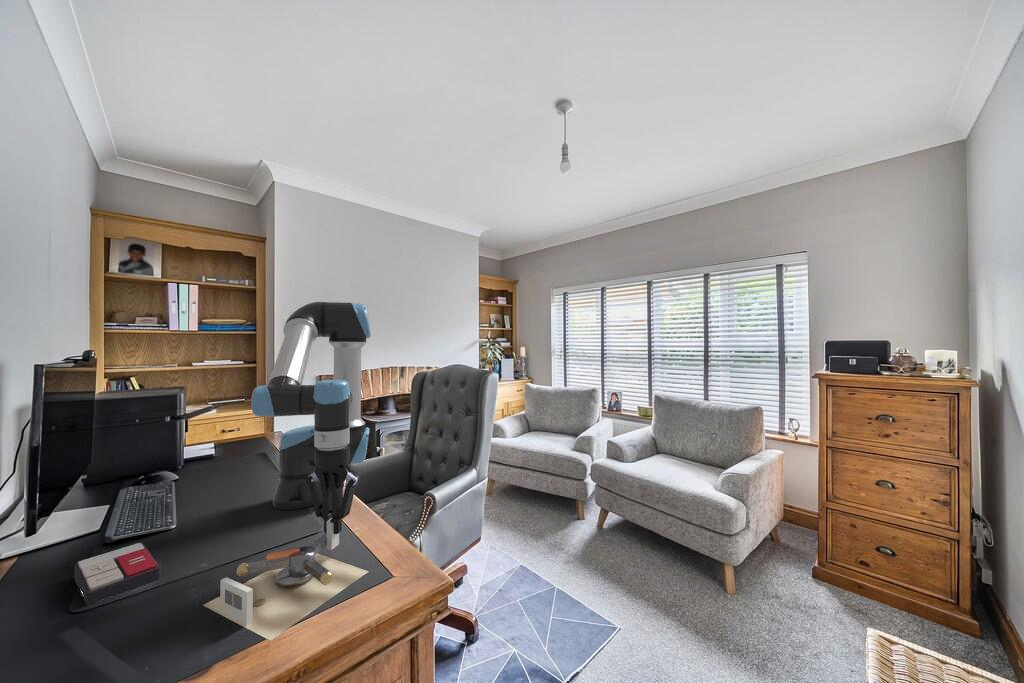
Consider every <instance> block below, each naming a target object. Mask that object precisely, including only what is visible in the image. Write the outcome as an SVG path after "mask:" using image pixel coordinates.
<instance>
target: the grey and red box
mask: <svg viewBox="0 0 1024 683" xmlns="http://www.w3.org/2000/svg"><path fill="white" fill-rule="evenodd" d="M73 567H74V569H73V570H74V571H73V572H74V574H73V576H74V578H73V580H74V581H75V584H76V586H77V587H78V589H79V588H80V589H81V591H82V592H83V595H84V599H83V601H84V600H85V601H84V603H85V602H86V603H85V605H86V604H87V605H89V606H91V605H90V604H92V605H94V604H93V603H95V602H97V601H100V600H102V599H105V598H108V597H109V596H113V595H116V594H119V595H121V594H120V593H122V594H124V593H127V592H129V591H132V590H135V589H138V588H139V587H142V586H145V585H147V584H150V583H153V582H157V581H159V580H160V579H161V569H162V568H161V565H160V564H159V563H158V562H157V560H156V559H155V557H154V556H153V555H152V553H151V552H150V551H149V549H148V548H147V547H146V545H145V544H144V543H143V542H138V543H137V542H136V543H134V544H131V545H128V546H124V547H121V548H118V549H114V550H112V551H108V552H105V553H102V554H99V555H95V556H91V557H89V558H84V559H82V560H79V561H77V562H76V563H74V566H73ZM137 587H138V588H137ZM116 596H117V595H116ZM108 599H109V598H108ZM100 602H101V601H100ZM95 604H96V603H95ZM87 605H86V606H87Z"/></svg>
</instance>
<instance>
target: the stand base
mask: <svg viewBox="0 0 1024 683" xmlns="http://www.w3.org/2000/svg"><path fill="white" fill-rule="evenodd" d="M315 561H316V562H318V563H319V564H321V565H322V566H323V567H325V568H326V569H327V570H329V571H331V572H332V573H333V580H332V582H331V583H330V584H328V585H323V584H321V582H319V581H318V580H317V579H316V578H314V577H312V578H311V579H309V580H308V581H306V582H304V583H302V584H300V585H297V586H293V587H281V586H279V585H277V583H276V576H277V574H278V572H279V571H281V570H282V569H283V568H282V569H276V570H271V571H265V572H261V573H259V575H257V576H255V577H254V578H251V579H249V580H247V581H246V582H244V583H242V584H243V585H245V586H247V587H249V588H252V589H253V622H252V623H251V624H249V625H248V626H246V625H244V624H242V623H240V622H238V621H236V620H234V619H232V618H230V617H228V616H226V615H225V614H223V613H221V612H220V596H217V597H216V598H214V599H212V600H210V601H208V602H207V603H205V604H203V607H205V608H207V609H209V610H211V611H213V612H214V613H216V614H219V615H220V616H222V617H225V618H226V619H228V620H230V621H231V622H234V623H236V624H238V625H240V626H241V627H243V628H245V629H247V630H249V631H250V632H252V633H255V634H257V635H259V636H260V637H263V638H264V639H266V640H268V641H270V642H271V641H272V640H274V639H275V638H277V637H278V636H279V635H282V633H284V632H286V630H288V629H289V628H291V627H292V626H294V625H296V624H297V623H298V622H299V621H301V620H302V619H304V618H305V617H306V616H308V615H309V614H311V613H312V612H313V611H315V610H317V609H318V608H319V607H321V606H322V605H324V604H325V603H327V602H328V601H329V600H331V599H332V598H334V597H335V596H337V595H338V594H339V593H341V592H342V591H344V590H346V588H348V587H349V586H351V585H352V584H353V583H355V582H356V581H358V580H359V579H360V578H362V577H364V575H366V574H368V573H369V572H370V571H368V570H366V569H362V568H360V567H357V566H354V565H352V564H348V563H346V562H343V561H340V560H338V559H335V558H331V557H330V556H329V557H328V556H327V555H324V554H320V553H319V552H318V553H317V554H316V555H315Z"/></svg>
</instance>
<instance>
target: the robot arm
mask: <svg viewBox="0 0 1024 683" xmlns="http://www.w3.org/2000/svg"><path fill="white" fill-rule="evenodd" d="M370 326H371V325H370V319H369V312H368V308H367V306H366V305H365V304H363V303H357V302H330V301H329V302H328V301H315V302H314V301H313V302H310V303H307V304H305V305H303V306H301V307H299V308H298V309H296V310H295V311H293V312H292V313H291V314H290V316H289V317H288V318H287V319H286V321H285V323H284V326H283V330H282V332H283V335H284V337H283V340H282V343H281V345H280V349H279V351H278V354H277V358H276V360H275V363H274V366H273V369H272V372H271V375H270V377H269V380H268V383H267V384H264V385H258V386H257V387H255V388H254V389H253V390H252V392H251V393H252V394H251V397H250V398H251V399H250V406H251V411H252V413H253V415H254V416H256V417H261V418H263V417H267V418H269V417H270V418H277V417H289V416H312V415H313V418H314V425H306V426H305V425H304V426H302V427H301V426H300V427H296V428H293V429H290V430H287V431H285V432H284V433H282V434H281V436H280V440H279V447H278V449H279V476H278V477H279V479H278V482H277V486H276V489H275V492H274V494H273V497H272V507H274V509H278V510H281V511H282V510H284V511H286V510H287V511H289V510H290V511H291V510H301V509H306V508H309V507H313V508H314V514H315V517H316V518H322V520H323V533H324V534H326V533H327V545H326V550H329V551H332V550H333V549H335V548H336V547H337V546H338V545H340V533H341V532H342V529H343V527H342V526H343V524H342V523H343V522H342V521H343V520H344V518H346V517H347V516H348V515H350V513H351V509H352V506H353V505H352V504H353V499H354V495H355V490H356V487H357V485H358V483H359V481H360V480H361V478H360V476H359V475H354V474H353V473H352V472H351V468H350V466H351V465H356V464H361V463H363V462H364V461H365V460H366V456H367V451H368V444H369V436H370V427H368V426H366V421H364V420H363V419H362V418H361V417H362V414H361V413H362V412H361V410H362V409H361V407H362V406H361V404H362V402H361V401H362V397H361V396H362V348H363V347H364V346H365V345H366V344H367V339H370V338H371V337H372V335H371V327H370ZM321 337H322V338H328V343H329V344H330V345H331V347H332V348H333V379H325V380H319V381H317V382H315V383H314V384H303V380H304V377H305V373H306V370H307V365H308V361H309V358H310V354H311V353H310V352H311V349H312V346H313V343H314V342H315V341H316V340H317V338H321ZM345 485H346V486H345ZM344 487H345V488H344ZM312 505H313V506H312ZM305 507H306V508H305ZM300 508H301V509H300Z"/></svg>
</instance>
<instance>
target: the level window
mask: <svg viewBox="0 0 1024 683" xmlns="http://www.w3.org/2000/svg"><path fill="white" fill-rule="evenodd" d="M243 584H244V583H241V582H239V581H235V580H233V579H231V578H230V577H228V576H226V577H224V578H222V579H220V588H219V589H220V593H219V594H220V612H221V613H223V614H225V615H226V616H228V617H230V618H232V619H234V620H236V621H238V622H240V623H242V624H244V625H246V626H248V625H249V624H251V623H252V622H253V589H252V588H249V587H247V586H245V585H243Z"/></svg>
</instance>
